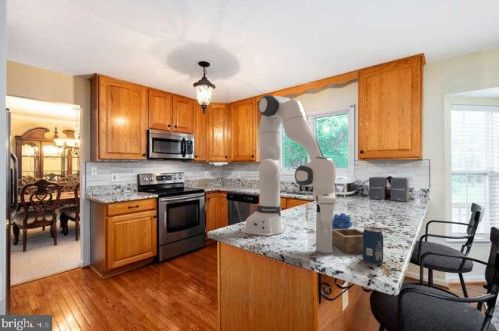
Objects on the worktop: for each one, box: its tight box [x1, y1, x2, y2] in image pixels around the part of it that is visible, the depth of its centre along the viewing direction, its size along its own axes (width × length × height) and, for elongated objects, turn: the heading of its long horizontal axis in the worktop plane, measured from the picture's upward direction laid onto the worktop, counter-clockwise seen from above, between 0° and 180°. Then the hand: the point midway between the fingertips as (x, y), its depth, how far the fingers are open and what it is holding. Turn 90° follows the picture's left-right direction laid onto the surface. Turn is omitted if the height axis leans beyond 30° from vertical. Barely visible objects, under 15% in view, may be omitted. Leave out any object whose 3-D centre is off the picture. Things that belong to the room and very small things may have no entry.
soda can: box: [361, 227, 384, 265], centre depth 88 cm, size 7×7×12 cm
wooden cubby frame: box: [332, 228, 363, 254], centre depth 102 cm, size 12×11×7 cm
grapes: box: [332, 212, 353, 229], centre depth 120 cm, size 12×7×12 cm, turn 82°
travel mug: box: [315, 204, 333, 256], centre depth 96 cm, size 6×7×20 cm
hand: (323, 229), depth 96 cm, fingers open, 8 cm apart
